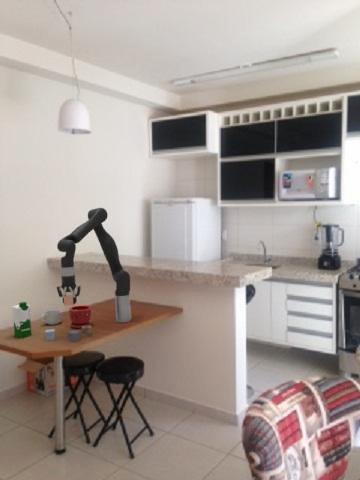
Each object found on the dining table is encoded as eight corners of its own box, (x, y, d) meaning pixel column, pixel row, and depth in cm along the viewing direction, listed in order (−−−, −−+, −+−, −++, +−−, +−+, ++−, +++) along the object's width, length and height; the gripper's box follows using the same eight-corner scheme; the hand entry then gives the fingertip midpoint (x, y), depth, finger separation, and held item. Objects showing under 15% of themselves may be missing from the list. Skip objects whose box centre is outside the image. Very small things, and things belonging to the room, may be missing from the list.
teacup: (58, 320, 282) (57, 308, 282) (65, 323, 274) (64, 311, 273) (37, 324, 274) (36, 312, 273) (43, 328, 265) (43, 315, 265)
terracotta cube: (75, 303, 248) (74, 294, 247) (72, 305, 243) (72, 296, 242) (66, 303, 248) (66, 295, 247) (64, 305, 243) (63, 297, 242)
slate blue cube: (55, 337, 247) (54, 328, 246) (55, 339, 242) (54, 331, 242) (46, 338, 245) (45, 329, 245) (46, 341, 240) (45, 332, 240)
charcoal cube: (81, 339, 242) (80, 330, 241) (76, 342, 237) (76, 333, 236) (73, 338, 243) (73, 330, 243) (68, 341, 238) (68, 332, 238)
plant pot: (80, 330, 258) (79, 311, 257) (65, 327, 265) (64, 308, 264) (96, 324, 269) (95, 306, 268) (81, 322, 276) (80, 304, 275)
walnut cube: (91, 333, 251) (91, 325, 251) (91, 336, 247) (90, 327, 246) (83, 334, 251) (82, 325, 250) (82, 336, 246) (81, 328, 245)
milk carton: (20, 339, 245) (17, 305, 243) (12, 336, 251) (9, 302, 249) (33, 335, 252) (31, 301, 250) (25, 332, 258) (23, 299, 256)
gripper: (82, 273, 247) (83, 301, 249) (57, 273, 248) (59, 302, 249) (78, 275, 240) (80, 305, 241) (53, 276, 240) (55, 305, 242)
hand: (69, 303), depth 245 cm, fingers closed on terracotta cube, 5 cm apart
